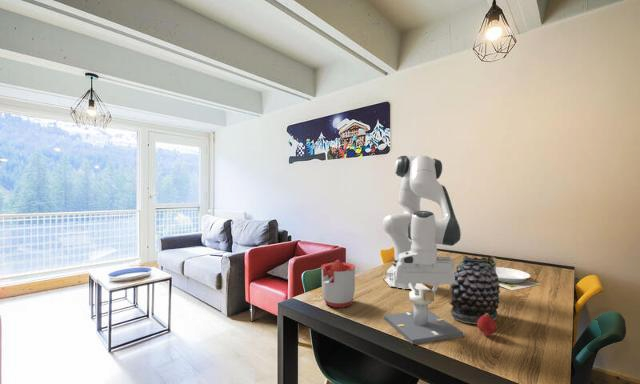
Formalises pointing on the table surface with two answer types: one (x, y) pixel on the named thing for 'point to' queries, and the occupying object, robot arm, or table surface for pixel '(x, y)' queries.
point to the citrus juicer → (338, 283)
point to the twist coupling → (421, 295)
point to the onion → (486, 325)
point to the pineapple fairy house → (475, 289)
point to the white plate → (511, 275)
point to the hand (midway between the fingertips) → (424, 295)
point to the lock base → (422, 330)
